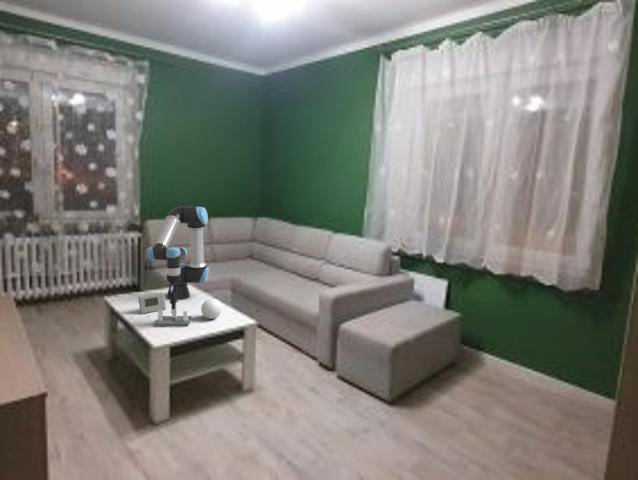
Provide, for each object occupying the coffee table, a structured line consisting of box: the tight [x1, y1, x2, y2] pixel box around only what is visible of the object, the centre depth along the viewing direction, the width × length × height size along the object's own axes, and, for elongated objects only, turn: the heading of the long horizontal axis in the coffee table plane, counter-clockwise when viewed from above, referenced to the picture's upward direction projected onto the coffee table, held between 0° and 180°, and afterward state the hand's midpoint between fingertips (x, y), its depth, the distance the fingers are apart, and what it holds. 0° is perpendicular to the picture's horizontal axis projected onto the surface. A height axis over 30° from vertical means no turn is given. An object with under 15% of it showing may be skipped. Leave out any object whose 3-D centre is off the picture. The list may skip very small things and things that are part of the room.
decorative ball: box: [200, 298, 223, 320], centre depth 252 cm, size 12×12×12 cm
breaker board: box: [154, 315, 192, 328], centre depth 243 cm, size 12×18×2 cm, turn 98°
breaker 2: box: [182, 309, 189, 321], centre depth 241 cm, size 2×2×6 cm
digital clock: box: [137, 292, 167, 315], centre depth 260 cm, size 16×9×11 cm, turn 123°
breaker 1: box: [157, 310, 164, 321], centre depth 239 cm, size 2×2×6 cm
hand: (173, 313), depth 243 cm, fingers closed
